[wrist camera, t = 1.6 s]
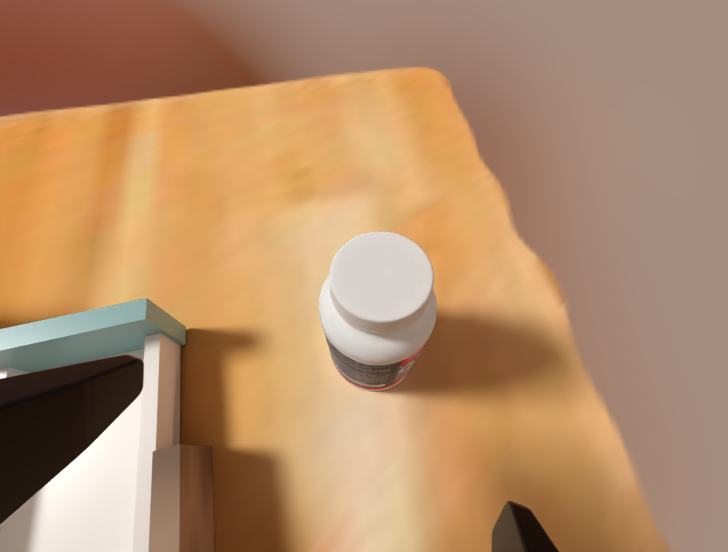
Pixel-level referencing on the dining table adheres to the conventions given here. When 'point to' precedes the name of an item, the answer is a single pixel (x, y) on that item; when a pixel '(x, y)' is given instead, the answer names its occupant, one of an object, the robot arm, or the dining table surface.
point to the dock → (182, 500)
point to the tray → (116, 444)
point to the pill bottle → (378, 309)
